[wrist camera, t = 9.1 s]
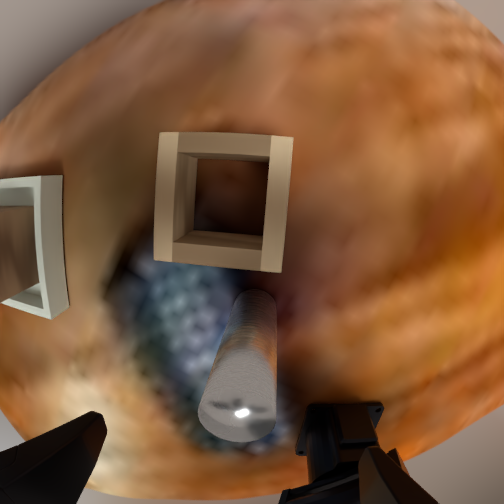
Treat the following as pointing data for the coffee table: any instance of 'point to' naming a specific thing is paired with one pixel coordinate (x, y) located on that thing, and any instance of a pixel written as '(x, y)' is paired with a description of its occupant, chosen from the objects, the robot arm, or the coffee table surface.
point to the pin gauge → (244, 372)
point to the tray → (41, 242)
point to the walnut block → (17, 250)
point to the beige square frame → (183, 200)
